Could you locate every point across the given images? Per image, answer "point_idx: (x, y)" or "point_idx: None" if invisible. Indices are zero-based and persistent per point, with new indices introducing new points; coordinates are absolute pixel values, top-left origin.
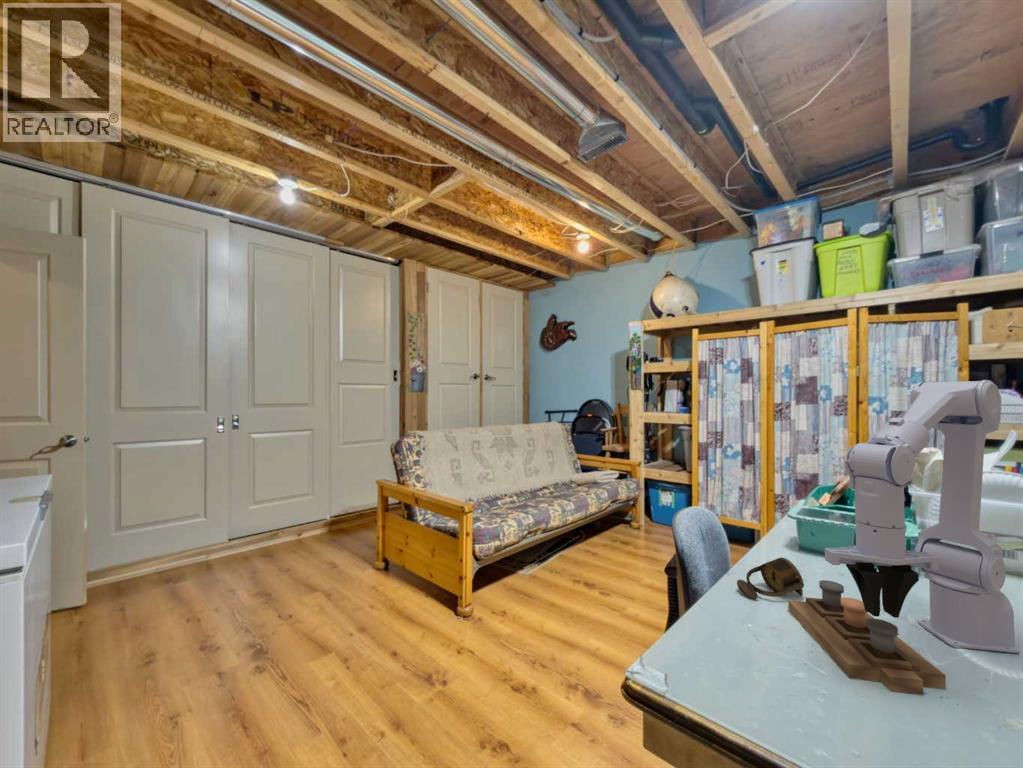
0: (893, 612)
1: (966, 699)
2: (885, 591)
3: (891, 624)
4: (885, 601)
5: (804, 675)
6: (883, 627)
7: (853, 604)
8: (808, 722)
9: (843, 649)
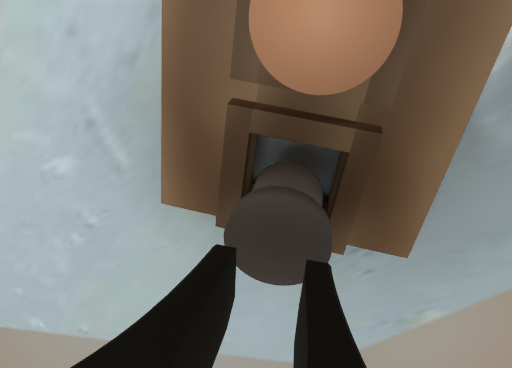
0: (296, 326)
1: (413, 262)
2: (303, 359)
3: (322, 247)
4: (301, 311)
5: (71, 169)
6: (265, 261)
7: (296, 49)
8: (36, 281)
9: (189, 134)
